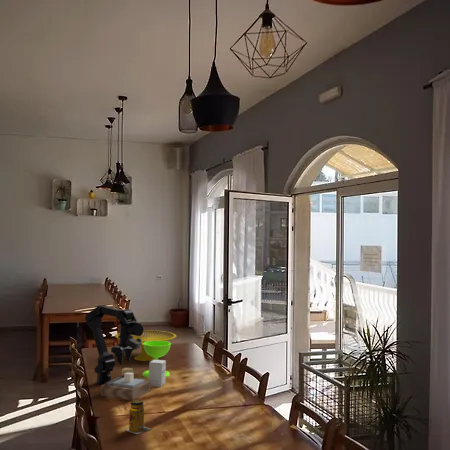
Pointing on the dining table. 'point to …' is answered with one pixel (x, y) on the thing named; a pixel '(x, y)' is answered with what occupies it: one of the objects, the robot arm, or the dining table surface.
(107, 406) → the dining table surface
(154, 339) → the cake stand
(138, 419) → the condiment
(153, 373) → the supplement box
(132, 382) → the cover
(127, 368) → the latch
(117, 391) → the case
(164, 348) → the wineglass
